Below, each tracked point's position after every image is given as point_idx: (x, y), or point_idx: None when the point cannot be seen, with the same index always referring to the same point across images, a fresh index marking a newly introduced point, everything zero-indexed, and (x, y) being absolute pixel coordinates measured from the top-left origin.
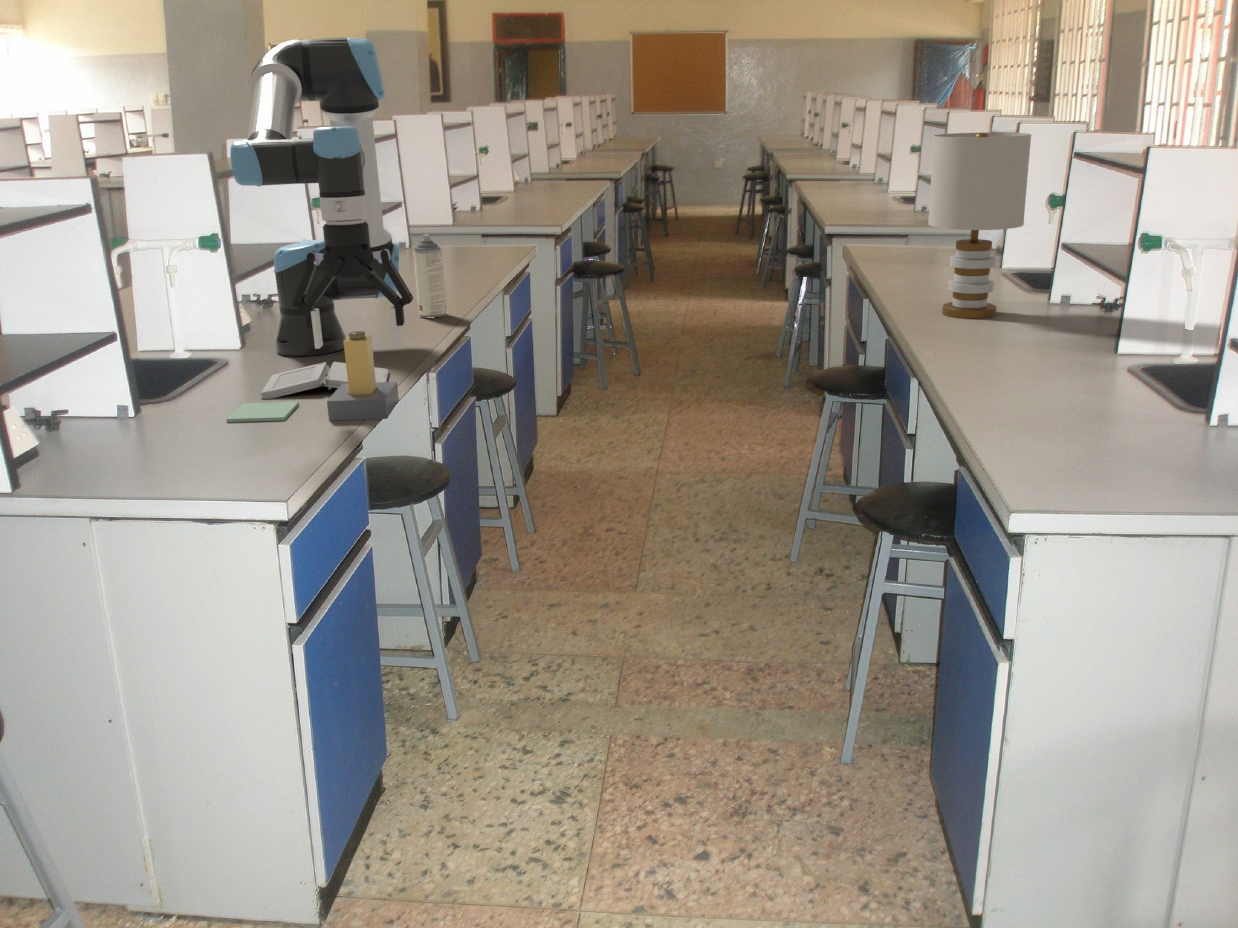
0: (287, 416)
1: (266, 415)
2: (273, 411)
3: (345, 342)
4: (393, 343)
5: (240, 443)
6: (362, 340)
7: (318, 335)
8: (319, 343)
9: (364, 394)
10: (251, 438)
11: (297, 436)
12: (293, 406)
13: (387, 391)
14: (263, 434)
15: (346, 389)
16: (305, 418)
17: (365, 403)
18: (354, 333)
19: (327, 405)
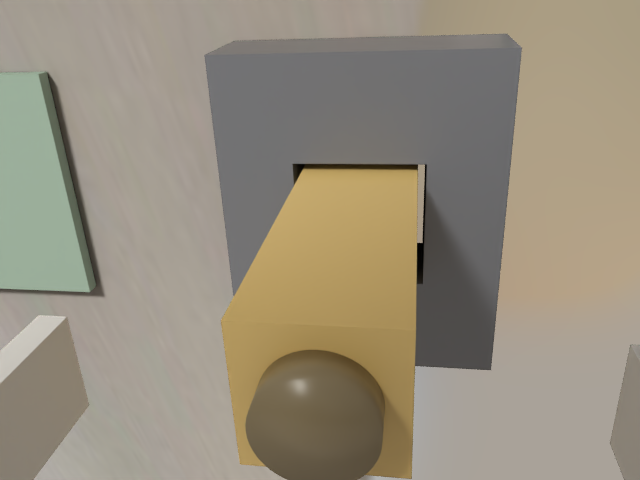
0: (86, 248)
1: (14, 261)
2: (11, 213)
3: (255, 459)
4: (616, 457)
5: (79, 472)
6: (376, 468)
7: (37, 458)
8: (69, 413)
9: None
10: (86, 439)
11: (215, 445)
12: (53, 150)
13: (486, 247)
14: (101, 412)
15: (266, 181)
16: (160, 267)
17: None
18: (298, 452)
19: None
